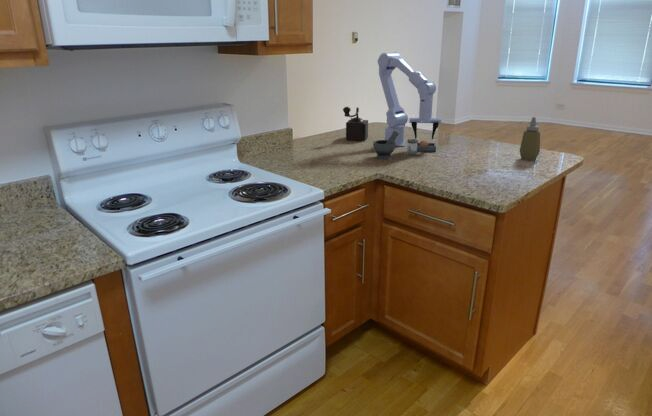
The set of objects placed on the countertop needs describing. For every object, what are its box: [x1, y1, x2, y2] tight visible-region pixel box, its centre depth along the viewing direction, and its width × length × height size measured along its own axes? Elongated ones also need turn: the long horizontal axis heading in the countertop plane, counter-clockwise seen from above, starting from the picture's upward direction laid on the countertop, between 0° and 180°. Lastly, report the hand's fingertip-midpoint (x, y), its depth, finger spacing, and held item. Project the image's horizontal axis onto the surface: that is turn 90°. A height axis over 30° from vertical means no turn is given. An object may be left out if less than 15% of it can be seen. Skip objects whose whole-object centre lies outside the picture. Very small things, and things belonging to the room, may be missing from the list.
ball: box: [419, 139, 429, 146], centre depth 221 cm, size 4×4×4 cm
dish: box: [417, 142, 437, 153], centre depth 222 cm, size 11×8×2 cm
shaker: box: [406, 138, 419, 157], centre depth 212 cm, size 5×5×7 cm
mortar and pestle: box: [372, 131, 399, 160], centre depth 208 cm, size 11×9×12 cm
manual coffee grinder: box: [342, 106, 369, 142], centre depth 243 cm, size 16×11×18 cm
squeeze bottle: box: [519, 116, 541, 162], centre depth 198 cm, size 8×8×18 cm
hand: (424, 138), depth 220 cm, fingers open, 7 cm apart
